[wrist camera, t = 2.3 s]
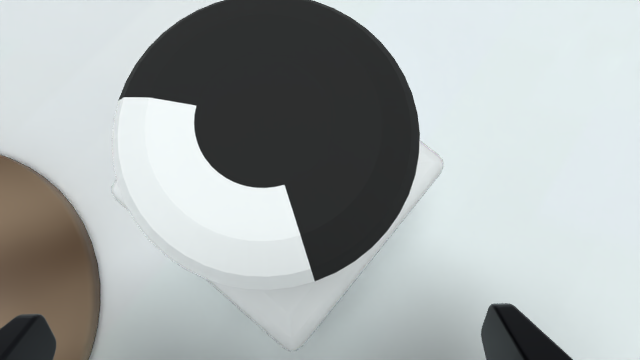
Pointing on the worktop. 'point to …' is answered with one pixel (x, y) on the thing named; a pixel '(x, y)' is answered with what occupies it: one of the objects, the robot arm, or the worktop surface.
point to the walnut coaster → (46, 261)
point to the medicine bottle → (270, 155)
